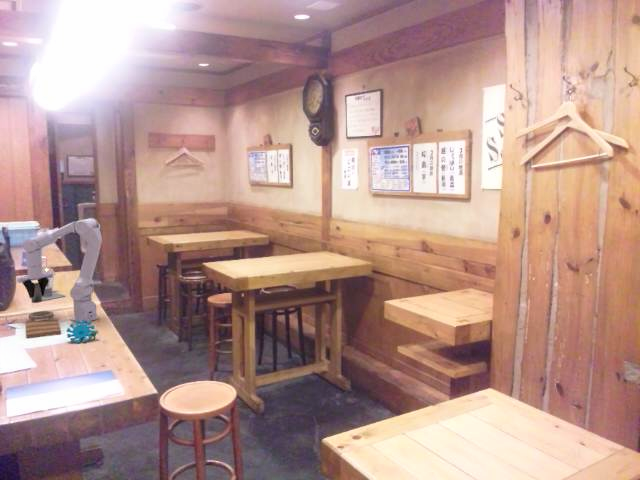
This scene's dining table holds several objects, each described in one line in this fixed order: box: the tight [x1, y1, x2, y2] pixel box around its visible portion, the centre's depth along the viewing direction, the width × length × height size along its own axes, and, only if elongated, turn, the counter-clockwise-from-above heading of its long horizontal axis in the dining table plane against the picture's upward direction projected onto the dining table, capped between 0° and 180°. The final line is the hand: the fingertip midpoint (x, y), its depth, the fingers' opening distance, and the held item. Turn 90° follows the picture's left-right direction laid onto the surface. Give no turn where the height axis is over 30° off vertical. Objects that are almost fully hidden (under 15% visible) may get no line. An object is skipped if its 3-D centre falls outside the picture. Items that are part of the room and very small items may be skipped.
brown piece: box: [25, 310, 62, 339], centre depth 223 cm, size 29×12×3 cm, turn 29°
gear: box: [66, 319, 99, 344], centre depth 206 cm, size 11×6×10 cm
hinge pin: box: [31, 282, 43, 304], centre depth 233 cm, size 4×4×8 cm
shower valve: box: [29, 286, 66, 302], centre depth 273 cm, size 12×6×15 cm
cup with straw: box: [42, 256, 57, 293], centre depth 280 cm, size 8×9×20 cm
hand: (36, 296), depth 234 cm, fingers closed on hinge pin, 4 cm apart
